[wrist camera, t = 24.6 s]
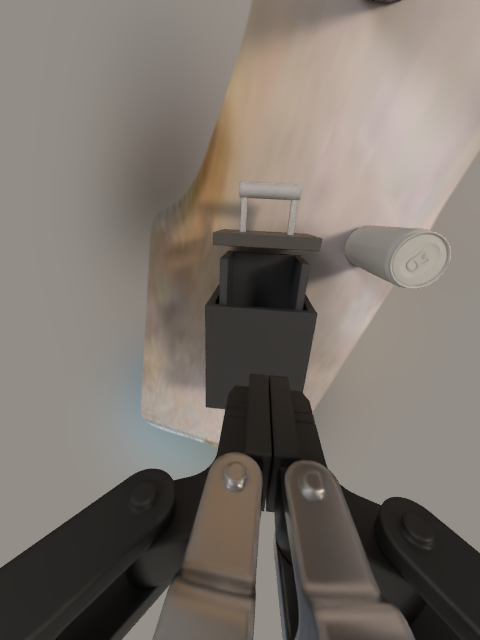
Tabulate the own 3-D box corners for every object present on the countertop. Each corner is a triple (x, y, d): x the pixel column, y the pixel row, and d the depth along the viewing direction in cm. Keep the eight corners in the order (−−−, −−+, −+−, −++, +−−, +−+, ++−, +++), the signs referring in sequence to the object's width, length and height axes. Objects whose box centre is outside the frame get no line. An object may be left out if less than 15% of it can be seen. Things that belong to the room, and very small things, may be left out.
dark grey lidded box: (218, 284, 34) (205, 305, 26) (303, 290, 33) (317, 313, 25) (217, 367, 39) (205, 407, 31) (290, 373, 39) (298, 416, 30)
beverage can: (390, 247, 30) (464, 263, 19) (356, 273, 32) (407, 301, 21) (369, 216, 29) (435, 215, 18) (335, 244, 31) (376, 258, 20)
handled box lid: (224, 186, 29) (213, 176, 22) (314, 190, 28) (332, 181, 21) (221, 321, 35) (212, 345, 28) (294, 327, 35) (302, 353, 28)
